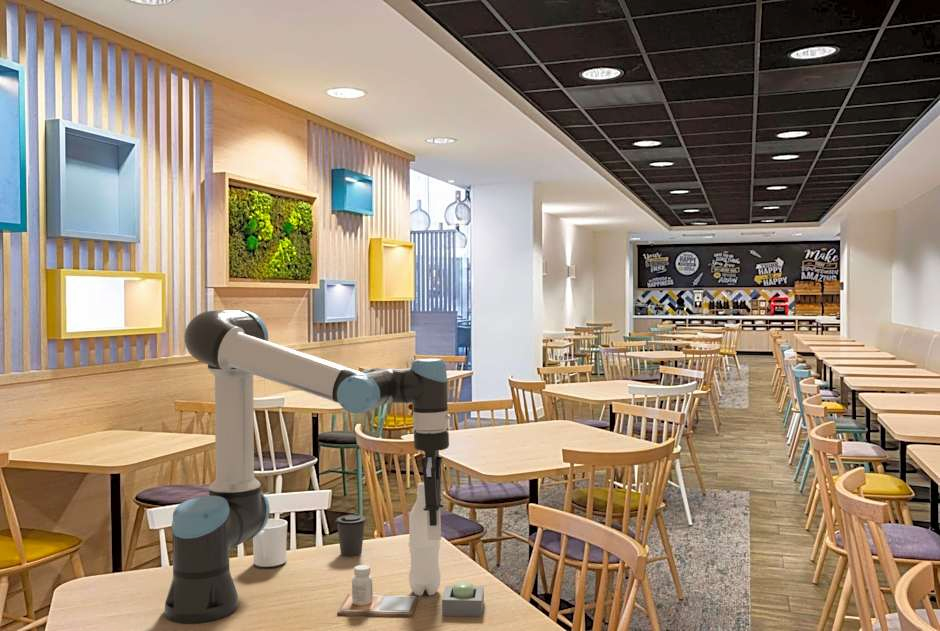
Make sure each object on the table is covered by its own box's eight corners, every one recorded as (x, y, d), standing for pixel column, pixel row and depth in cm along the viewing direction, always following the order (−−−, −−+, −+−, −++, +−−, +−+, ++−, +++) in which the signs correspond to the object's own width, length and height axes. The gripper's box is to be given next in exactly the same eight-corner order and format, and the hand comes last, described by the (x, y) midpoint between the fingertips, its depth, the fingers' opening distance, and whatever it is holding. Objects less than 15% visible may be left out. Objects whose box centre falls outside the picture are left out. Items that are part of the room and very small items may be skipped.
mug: (260, 557, 213) (259, 518, 213) (293, 558, 212) (292, 519, 212) (242, 571, 202) (242, 530, 202) (277, 573, 201) (276, 531, 201)
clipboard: (337, 615, 174) (337, 611, 174) (347, 597, 185) (347, 593, 185) (411, 616, 173) (411, 612, 173) (418, 598, 183) (418, 594, 183)
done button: (452, 602, 175) (452, 589, 175) (454, 594, 180) (454, 582, 180) (472, 602, 175) (472, 589, 175) (474, 595, 180) (474, 582, 179)
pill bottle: (364, 597, 182) (364, 562, 182) (376, 602, 179) (376, 567, 179) (348, 602, 179) (347, 567, 179) (360, 607, 176) (360, 572, 176)
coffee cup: (331, 558, 212) (330, 519, 212) (341, 548, 220) (340, 511, 220) (361, 559, 211) (361, 521, 211) (370, 549, 219) (370, 512, 219)
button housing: (442, 615, 174) (441, 599, 174) (446, 601, 182) (445, 585, 182) (481, 616, 173) (481, 600, 173) (483, 601, 181) (483, 586, 181)
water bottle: (436, 598, 183) (435, 487, 183) (405, 596, 185) (404, 486, 184) (443, 587, 190) (443, 480, 190) (413, 585, 192) (413, 479, 191)
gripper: (445, 435, 170) (448, 548, 171) (451, 425, 183) (454, 530, 184) (409, 435, 171) (412, 548, 171) (418, 426, 184) (421, 530, 184)
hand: (434, 538), depth 177 cm, fingers closed
